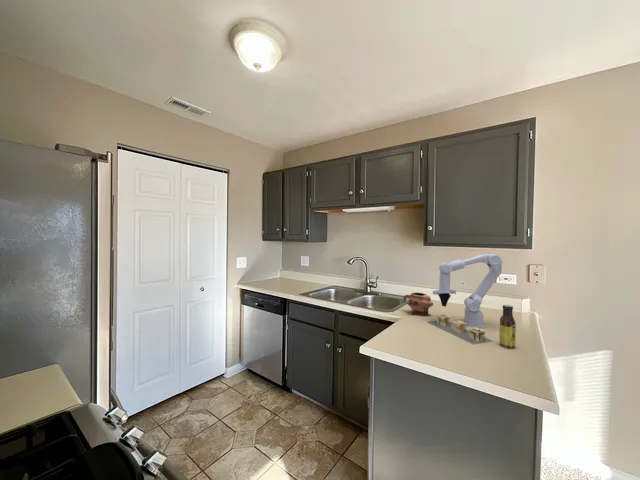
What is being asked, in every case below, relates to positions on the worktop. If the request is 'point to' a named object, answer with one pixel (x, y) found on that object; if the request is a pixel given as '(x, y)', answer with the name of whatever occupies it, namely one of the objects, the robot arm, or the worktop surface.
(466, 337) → the charcoal mat
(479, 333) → the maple block marked 7
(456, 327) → the plain maple block
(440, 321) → the maple block marked 1
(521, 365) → the worktop surface
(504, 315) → the sauce bottle
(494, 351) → the worktop surface
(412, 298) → the decorative planter
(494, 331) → the worktop surface
